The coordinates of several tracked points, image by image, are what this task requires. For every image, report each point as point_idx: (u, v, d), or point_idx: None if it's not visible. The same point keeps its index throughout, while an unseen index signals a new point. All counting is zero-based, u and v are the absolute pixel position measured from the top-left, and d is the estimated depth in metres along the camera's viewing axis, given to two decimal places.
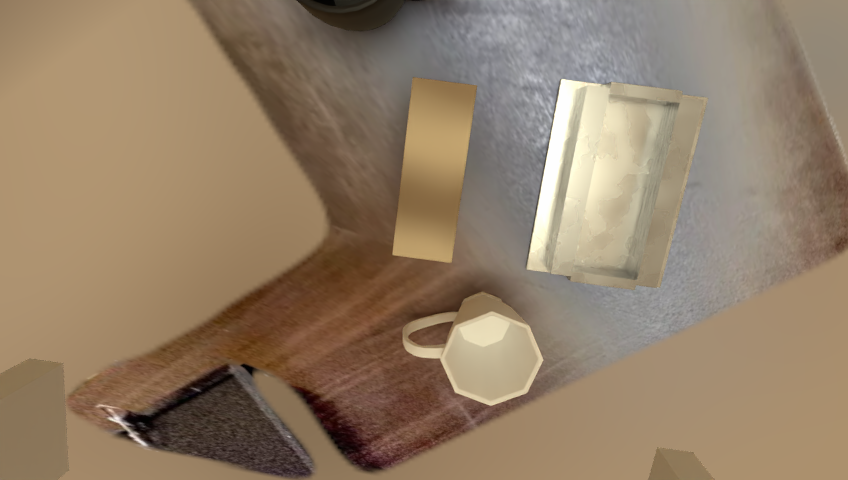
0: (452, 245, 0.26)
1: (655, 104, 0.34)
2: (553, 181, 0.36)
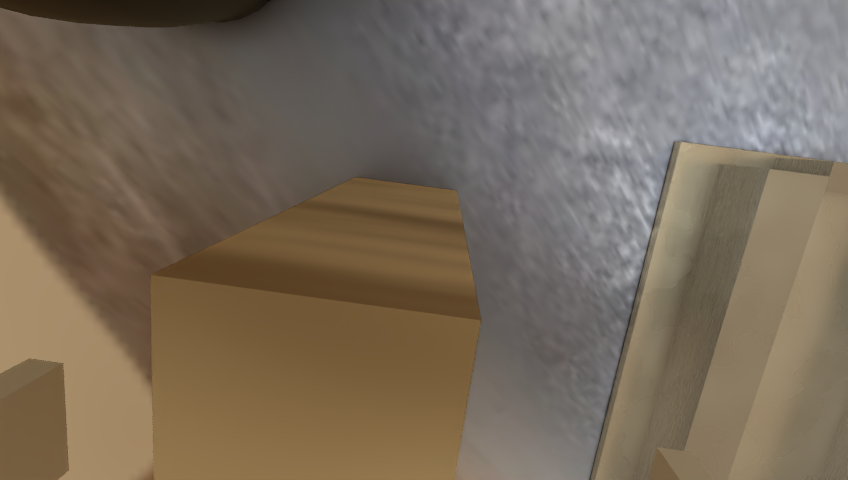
0: None
1: None
2: (648, 362, 0.16)
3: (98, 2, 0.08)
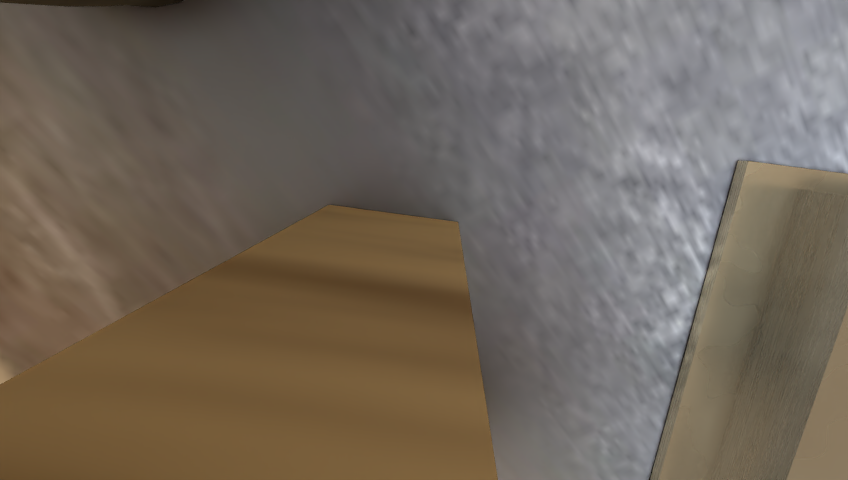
0: None
1: None
2: (700, 437, 0.13)
3: None
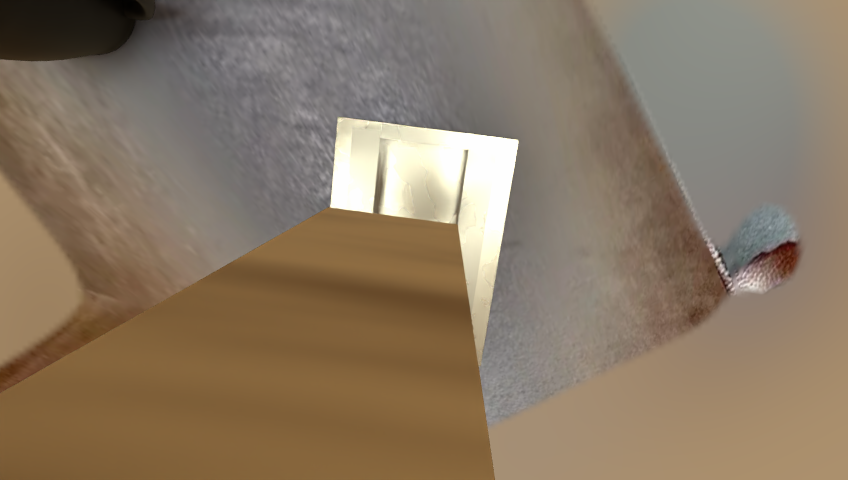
0: None
1: (454, 148, 0.27)
2: None
3: (15, 54, 0.21)
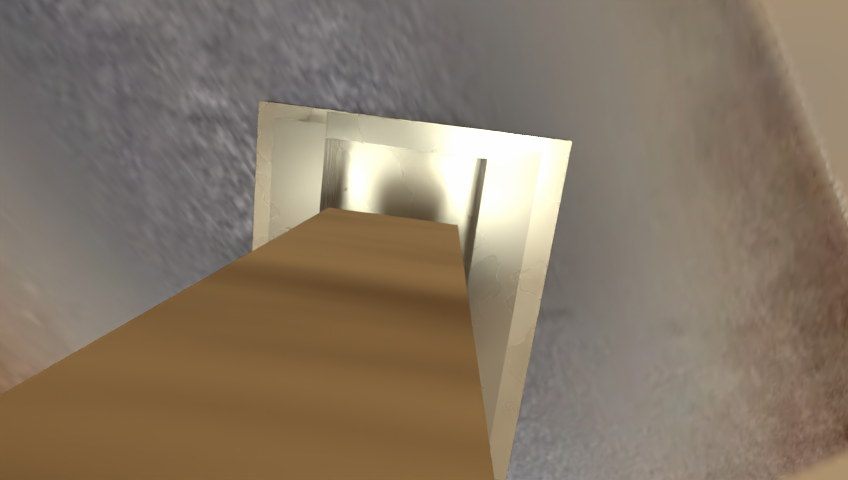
0: None
1: (460, 154, 0.16)
2: None
3: None
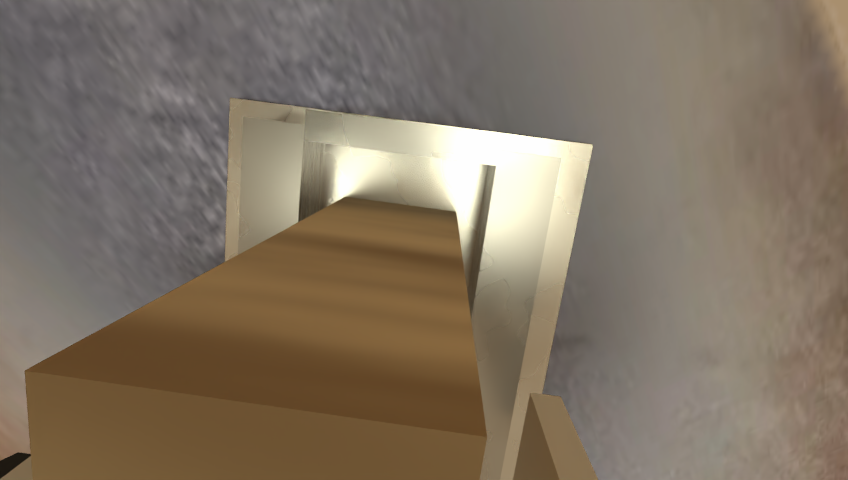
0: None
1: None
2: None
3: None
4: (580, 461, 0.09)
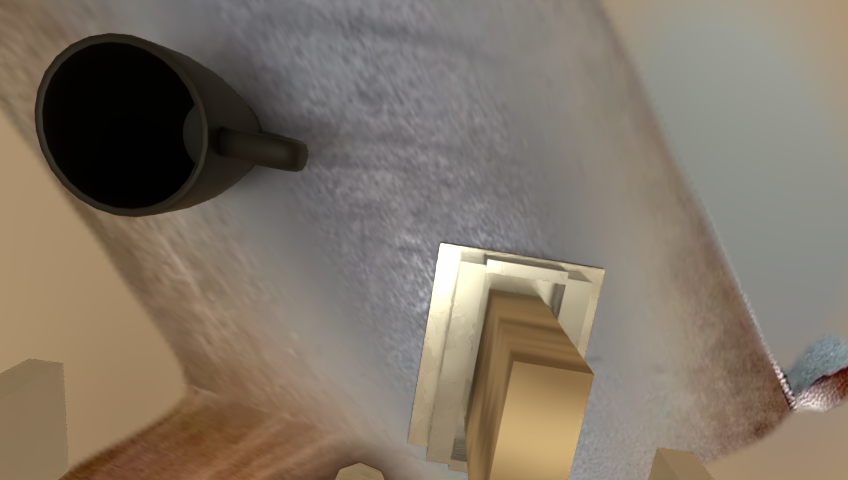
0: None
1: None
2: (434, 350, 0.31)
3: None
4: None
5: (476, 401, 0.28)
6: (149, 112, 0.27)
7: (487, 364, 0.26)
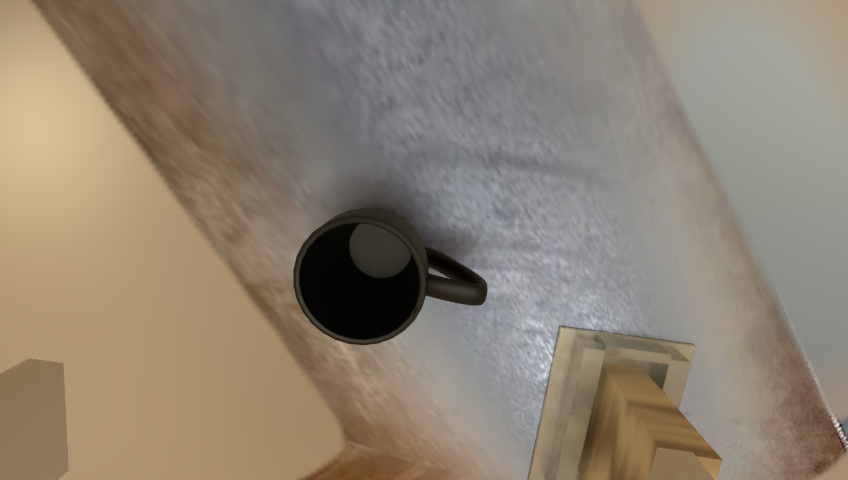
0: None
1: None
2: (553, 411, 0.38)
3: None
4: None
5: (598, 457, 0.35)
6: (336, 239, 0.34)
7: (612, 432, 0.33)
